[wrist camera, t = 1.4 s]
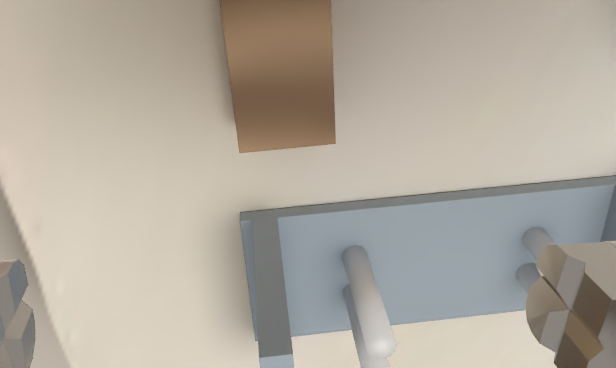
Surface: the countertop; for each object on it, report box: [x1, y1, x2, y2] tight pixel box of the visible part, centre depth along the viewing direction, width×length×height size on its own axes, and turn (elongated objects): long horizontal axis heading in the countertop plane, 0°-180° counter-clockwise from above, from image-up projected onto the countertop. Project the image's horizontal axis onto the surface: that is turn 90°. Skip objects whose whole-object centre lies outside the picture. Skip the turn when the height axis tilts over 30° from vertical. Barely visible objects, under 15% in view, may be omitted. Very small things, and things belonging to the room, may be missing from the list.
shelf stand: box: [240, 176, 616, 368], centre depth 34 cm, size 26×10×12 cm, turn 93°
